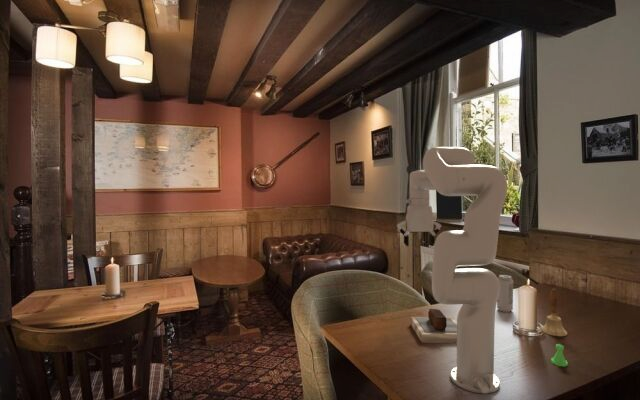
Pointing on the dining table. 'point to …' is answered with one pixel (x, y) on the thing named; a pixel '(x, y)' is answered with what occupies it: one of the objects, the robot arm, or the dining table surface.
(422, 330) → the plinth
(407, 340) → the dining table surface
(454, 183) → the robot arm
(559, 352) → the game piece
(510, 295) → the energy drink can
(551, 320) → the hand bell
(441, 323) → the brick
